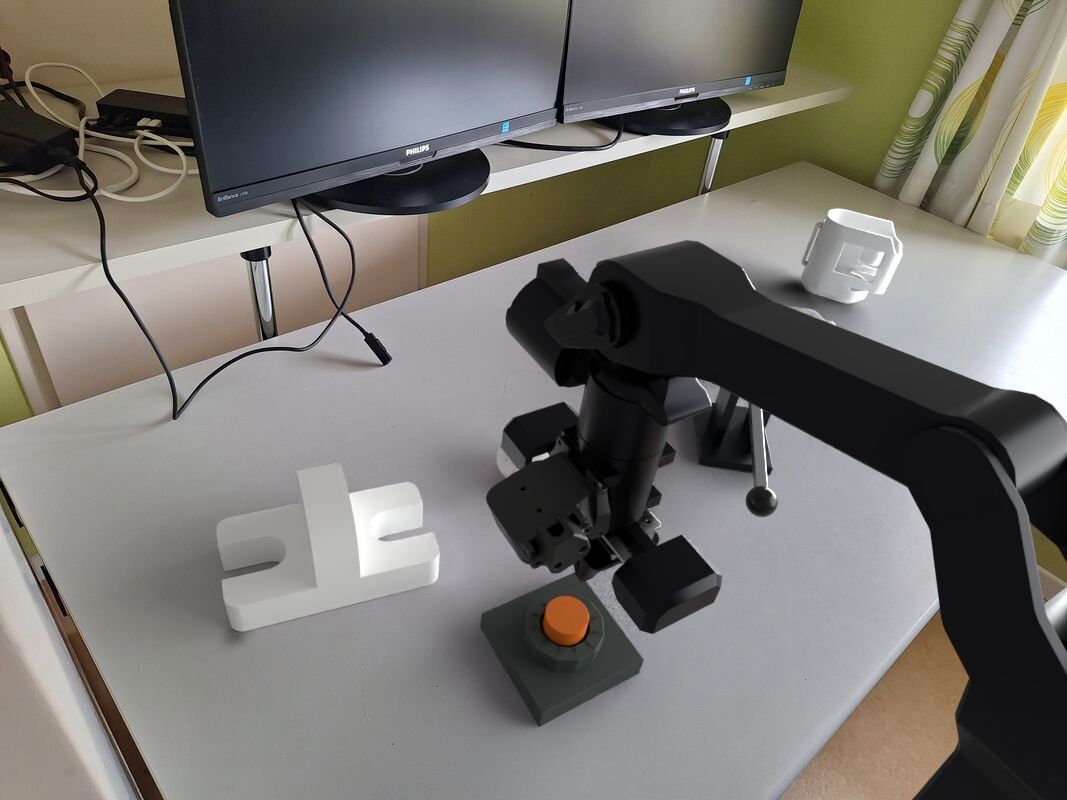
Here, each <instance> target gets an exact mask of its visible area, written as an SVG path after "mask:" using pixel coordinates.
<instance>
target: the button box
mask: <svg viewBox="0 0 1067 800" xmlns="http://www.w3.org/2000/svg"><path fill="white" fill-rule="evenodd" d="M560 596H570V597H573V598H576V599H578V600H579V601H581V602H582V603H583V604H584V605H585V607H586V608H587V610H588V613H589V622H588V625H587V629H586V632H585V635H584V637H583V639H582V640H581V641H580V642H578V643H577V644H574V645H571V646H562V645H558V644H556V643H554V642H552V641H551V640H550V639H549V638H548V637H547V636H546V634H545V632H544V629H543V620H544V615H545V610H546V607H547V605H548V604H549V602H550V601H552V600H553V599H555V598H557V597H560ZM479 628H480V630H481V632H482V634H483V635H484V637H485V638H486V640H487V642H488V643H489V646H490V647H491V648H492V651H493V652H494V653H495V656H496V657H497V659H498V660H499V662H500V664H501V666H502V668H504V671H505V673H506V674H507V675H508V677H509V679H510V680H511V682H512V684H513V685H514V687H515V689H516V691H517V693H518V694H519V696H520V697H521V699H522V700H523V702H524V705H525V706H526V708H527V709H528V711H529V712H530V714H531V716H532V717H533V719H534V721H535V722H536V724H537V726H538V727H542V726H543V725H546V724H547V723H550V722H551V721H553V720H555V719H557V718H559V717H560V716H562V715H564V714H566V713H567V712H570V711H572V710H574V709H575V708H577V707H579V706H581V705H582V704H585V703H586V702H588V701H590V700H592V699H593V698H596V697H597V696H599V695H601V694H603V693H605V692H607V691H609V690H611V689H612V688H614V687H616V686H618V685H619V684H621V683H623V682H625V681H627V680H629V679H631V678H632V677H634V676H636V675H638V674H639V673H640V671H641V669H642V666H643V663H644V661H645V658H644V657H643V656H642V654H641V653H640V652H639V650H638V649H637V648H636V646H635V645H634V643H632V641H631V640H630V638H629V637H628V635H627V634H626V633H625V631H624V630H623V629H622V627H621V626H620V625H619V623H618V622H617V621H616V619H615V618H614V616H613V615H612V614H611V612H610V611H609V610H608V608H607V607H606V606H605V605H604V603H603V602H602V601H601V599H600V597H599V596H598V595H597V594H596V592H595V591H594V590H593V588H592V587H591V586H590V584H589V583H588V580H587V581H585V582H583V583H581V582H580V580H579V578H577V576H576V575H575V571H574V572H572V573H570V574H567V575H565V576H563V577H561V578H558V579H556V580H554V581H552V582H549V583H547V584H545V585H543V586H540V587H538V588H535V589H533V590H531V591H529V592H527V593H525V594H523V595H520V596H518V597H515V598H512V599H511V600H509V601H506V602H504V603H502V604H499V605H498V606H495V607H493V608H491V609H488V610H487V611H484V612H482V613H481V618H480V625H479Z"/></svg>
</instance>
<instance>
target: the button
mask: <svg viewBox="0 0 1067 800" xmlns="http://www.w3.org/2000/svg"><path fill="white" fill-rule="evenodd" d="M588 622H589V613H588V610H587V608H586V607H585V605H584V604H583V603H582V602H581V601H579V600H578V599H576V598H573V597H570V596H560V597H557V598H555V599H553V600H552V601H550V602H549V604H548V605H547V607H546V610H545V615H544V620H543V629H544V632H545V634H546V636H547V637H548V638H549V639H550V640H551V641H552V642H554V643H556V644H558V645H562V646H571V645H574V644H577V643H578V642H580V641H581V640H582V639H583V637H584V635H585V632H586V629H587V625H588Z"/></svg>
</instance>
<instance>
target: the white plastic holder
mask: <svg viewBox="0 0 1067 800" xmlns="http://www.w3.org/2000/svg"><path fill="white" fill-rule="evenodd" d="M818 230H819V231H818ZM816 235H817V236H816ZM811 248H812V249H811ZM809 253H810V254H809ZM808 255H809V256H808ZM807 257H808V258H807ZM902 257H903V243H902V242H901V240H899V239H898V237H897V236H896V231H895V227H894V223H893V221H892V220H887V219H884V218H879V217H876V216H873V215H869V214H864V213H860V212H858V211H853V210H849V209H845V208H831V209H829V210H827V213H826V215H825V217H824V219H823V220H822V222H821V221H819V222H817V223H815V226H814V228H813V231H812V233H811V236H810V238H809V241H808V243H807V246H806V248H805V251H804V253H803V255H802V259H801V265H802V266H804V267H803V270H802V273H801V276H800V280H801V282H802V284H803V286H804V287H805V289H806V290H807V291H809V292H810V293H812V294H814V295H816V296H819V297H823V298H827V299H830V300H833V301H835V302H838V303H842V304H854V303H856V302H859V301H862V300H864V299H865V298H866V297H867V295H868V293H871V294H875V295H883V294H885V292H886V290H887V287H888V286H889V283H890V282H891V280H892V277H893V276H894V273H895V271H896V269H897V266H898V264H899V263H900V261H901V259H902ZM858 262H860V263H861V264H860V263H858ZM863 264H864V265H863ZM871 266H873V267H871ZM875 266H878V267H877V268H874V267H875ZM853 271H854V272H853ZM855 272H858V273H862V274H865V275H866V274H867V275H869V276H873V278H872V280H871V281H870V280H867V279H866V278H865V277H863V276H862V275H860V274H858V273H855Z"/></svg>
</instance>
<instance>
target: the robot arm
mask: <svg viewBox="0 0 1067 800" xmlns="http://www.w3.org/2000/svg"><path fill="white" fill-rule="evenodd" d="M790 307H791V306H787V305H785V304H782V303H779V302H777V301H775V300H772V299H770V298H769V297H767V296H766V295H764V294H763V293H761V292H760V291H757V290H756V288H755V287H754V285H753V283H752V281H751V280H750V278H749V276H748V274H747V273H746V271H745V269H744V268H742V266H740V265H739V264H737V263H735V261H732V260H731V259H729V258H728V257H725V256H724V255H722V254H721V253H720V252H717V251H716V250H714V249H712V248H711V247H709V246H708V245H707V244H705V243H702V242H700V241H697V240H689V239H685V240H682V241H677V242H676V241H675V242H673V243H668V244H664V245H661V246H655V247H652V248H647V249H644V250H640V251H636V252H635V251H634V252H631V253H627V254H622V255H619V256H615V257H609V258H606V259H601V260H599V261H597V262H596V265H595V267H594V268H593V269H592V271H591V273H590V276H589V278H588V281H587V280H585V279H584V278H583V277H582V276H581V275H580V274H579V273H578V271H577V270H576V269H575V268H574V266H573V265H572V264H571V263H570V262H568V260H566V259H565V258H564V257H561V258H557V259H552V260H548V261H544V262H540V263H538V264H537V268H536V275H535V278H533V279H532V280H530V281H529V282H528V283H527V284H525V285H524V286H523V287H522V288H521V289H520V290H519V291H518V293H517V294H516V296H515V297H514V298H513V300H512V302H511V304H510V306H509V307H508V308H507V309H506V313H505V326H506V329H507V332H508V333H509V334H510V336H511V337H512V339H514V340H515V341H516V343H518V345H520V346H521V348H522V349H523V350H524V351H525V352H526V353H527V354H528V355H529V356H530V357H531V358H532V359H533V360H534V361H535V363H536V364H537V365H538V366H539V367H540V368H541V369H542V370H543V371H544V373H546V374H547V376H548V377H549V378H550V379H551V380H552V381H553V382H554V383H555V384H556V385H557V386H558V387H560V388H561V387H562V388H568V389H569V388H577V387H580V386H584V388H583V392H582V397H581V403H580V408H579V412H577V411H576V410H575V409H574V408H573V406H571V405H570V404H568V403H567V402H565V401H561V402H557V403H554V404H550V405H547V406H544V407H541V408H538V409H535V410H531V411H529V412H526V413H522V414H519V415H516V416H513V417H512V418H511V419H510V420H509V421H508V422H507V423H506V424H505V426H504V427H503V429H502V436H501V443H502V444H501V443H500V445H501V448H502V449H503V450H504V452H505V453H506V454H507V456H508V457H509V458H510V460H511V461H512V462H513V464H514V465H515V466H516V468H517V469H518V471H517V472H515V473H514V474H512V475H510V476H509V477H507V478H504V479H502V480H501V481H499V482H498V483H496V484H494V485H492V486H491V487H490V488H489V490H488V491H487V493H486V496H485V501H486V505H487V507H488V509H489V511H490V513H491V515H492V518H493V520H494V522H495V524H496V526H497V528H498V530H499V531H500V533H501V534H502V535H503V536H504V538H505V539H506V541H507V543H508V544H509V545H510V547H511V548H512V549H513V551H514V553H515V554H516V556H517V558H518V559H519V560H520V561H521V563H523V564H525V565H528V566H530V568H531V569H532V570H537V569H538V568H540V567H546V568H547V569H548V571H549V573H551V574H553V575H555V574H556V575H557V574H560V573H562V572H564V571H565V570H567V569H568V568H570V567H571V566H573V571H574V572H575V575H576V576H577V578H579V580H580V582H581V583H583V582H585V581H587V582H588V581H590V580H592V579H593V578H595V577H596V576H598V574H599V573H600V572H604V571H607V570H609V569H611V568H614V567H616V566H618V565H620V564H621V565H620V566H619V567H618V568H617V569H616V571H614V572H613V576H612V579H611V582H610V583H611V586H612V587H611V588H612V590H613V594H614V596H615V600H616V601H617V603H618V604H619V605H620V606H621V608H622V609H623V611H624V612H625V613H626V614H627V615H628V617H629V618H630V619H631V621H632V622H633V623H634V625H635V626H636V627H637V629H638V630H639V631H640V632H642V633H647V634H651V635H654V634H656V633H657V632H660V631H662V630H664V629H666V628H668V627H670V626H672V625H674V624H675V623H677V622H679V621H681V620H683V619H685V618H687V617H689V616H691V615H692V614H695V613H697V612H698V611H701V610H702V609H705V608H707V607H709V606H710V605H713V604H714V603H715V602H716V600H717V598H718V595H719V592H720V590H721V589H722V583H723V581H722V580H723V574H722V573H721V572H720V571H719V570H718V569H717V568H716V567H715V566H714V565H713V563H712V562H711V561H710V560H709V559H708V558H707V556H705V554H704V553H703V552H702V551H701V549H699V548H698V546H697V545H696V544H695V543H694V542H693V541H692V540H691V538H689V537H688V536H686V535H684V534H679V535H676V536H675V537H673V538H670V539H669V540H666V541H664V542H662V543H660V541H661V537H660V534H659V533H658V532H657V531H660V529H661V527H662V523H661V521H660V520H659V519H658V518H657V516H655V514H653V512H652V511H651V510H650V509H652V508H654V507H657V506H659V505H660V503H661V500H662V497H663V493H662V492H660V490H659V489H658V488H657V487H656V486H655V485H654V481H655V478H656V475H657V472H658V469H660V468H663V467H665V466H668V465H670V464H673V463H674V462H675V458H676V455H677V450H676V449H675V448H674V447H673V446H672V445H671V444H670V443H669V442H668V441H667V440H668V436H669V433H670V431H671V427H672V425H674V424H677V423H680V422H682V421H684V420H687V419H689V418H693V417H694V416H695V415H698V414H700V413H703V412H705V411H708V410H710V408H711V402H712V401H711V398H710V396H709V393H708V391H707V389H705V387H704V386H703V385H701V383H700V381H699V380H701V381H703V382H708V383H711V384H713V385H716V386H717V387H718V388H720V387H721V388H723V389H725V390H727V391H728V392H730V393H732V394H734V395H736V396H738V397H739V399H741V400H743V401H745V402H747V403H748V402H749V403H751V404H753V405H754V406H756V407H758V408H760V409H762V410H764V411H766V412H768V413H769V414H771V416H773V417H775V418H777V419H778V420H781V421H782V422H785V423H786V424H788V425H790V426H792V427H794V428H796V429H798V430H799V431H801V432H802V433H804V434H806V435H809V436H810V437H813V438H814V439H816V440H817V441H820V442H822V443H824V444H825V445H827V446H829V447H831V448H833V449H835V450H837V451H838V452H840V453H842V454H844V455H846V456H848V457H850V458H851V459H853V460H855V461H857V462H858V463H861V464H863V465H865V466H867V467H868V468H870V469H872V470H874V471H876V472H877V473H879V474H881V475H884V476H885V477H887V478H889V479H890V480H893V481H894V482H897V483H898V484H900V485H902V486H904V487H905V488H907V489H908V492H909V493H910V495H911V497H912V500H913V501H914V503H915V505H916V506H917V509H918V511H919V513H920V514H921V517H922V519H923V520H924V522H925V524H926V526H927V528H928V530H929V533H930V542H931V550H932V558H933V566H934V573H935V582H936V583H935V584H936V589H937V598H938V605H939V613H940V614H939V615H940V620H941V623H942V626H943V629H944V632H945V634H946V636H947V638H948V640H949V641H950V643H951V645H952V647H953V649H954V652H955V653H956V655H957V657H958V659H959V661H960V663H961V665H962V667H963V669H964V671H965V672H966V675H967V677H968V680H967V682H966V685H965V686H964V687H965V688H964V690H963V692H962V695H961V697H960V700H959V702H958V704H957V707H956V709H955V712H954V719H955V725H956V732H957V738H958V741H957V744H956V746H955V747H954V750H953V751H952V753H950V754H949V756H948V757H947V758H946V759H945V760H944V762H943V763H942V764H941V765H940V766H939V768H938V769H937V770H936V771H935V772H934V773H933V774H932V776H931V777H930V778H929V779H928V780H927V781H926V782H925V784H924V785H923V786H922V787H921V788H920V790H919V791H918V792H917V793H916V794H915V795H914V796H913V798H912V799H911V800H1067V586H1066V587H1065V588H1063V589H1062V590H1061V591H1060V592H1058V593H1057V594H1056V595H1054V596H1053V597H1051V598H1050V599H1049V600H1048V601H1046V602H1045V600H1044V596H1043V590H1042V585H1041V578H1040V573H1039V568H1038V567H1039V566H1038V562H1037V557H1036V551H1035V545H1034V540H1033V534H1032V529H1031V525H1032V526H1033V527H1034V528H1036V529H1037V531H1039V532H1040V533H1041V534H1042V535H1043V536H1044V537H1045V538H1047V539H1048V540H1049V541H1050V542H1051V543H1053V545H1055V546H1056V548H1057V549H1058V550H1059V552H1060V553H1061V555H1062V557H1063V559H1064V561H1065V563H1067V420H1066V419H1065V418H1064V416H1063V415H1062V414H1061V413H1060V412H1059V411H1058V409H1057V408H1056V407H1055V406H1054V405H1053V404H1052V403H1051V402H1049V401H1047V400H1045V399H1043V398H1042V397H1040V396H1038V395H1037V394H1035V393H1030V392H1025V391H1021V390H1015V389H1008V388H1007V389H1006V388H1000V387H996V386H995V387H994V386H991V385H989V384H986V383H984V382H981V381H978V380H976V379H973V378H971V377H968V376H966V375H963V374H961V373H958V372H955V371H953V370H950V369H948V368H945V367H943V366H941V365H938V364H935V363H933V362H930V361H927V360H925V359H922V358H920V357H917V356H914V355H912V354H910V353H907V352H905V351H902V350H899V349H897V348H894V347H891V346H889V345H887V344H884V343H882V342H879V341H876V340H874V339H871V338H869V337H867V336H863V335H861V334H858V333H857V332H854V331H851V330H849V329H846V328H844V327H841V326H838V325H836V324H835V325H833V324H831V323H828V322H826V321H823V320H820V319H818V318H815V317H813V316H810V315H808V314H805V313H803V312H800V311H798V310H795V309H792V308H790ZM545 453H548V454H549V457H548V458H545V459H544V460H537V461H534V462H532V459H533V458H534V457H536V456H539V455H542V454H545ZM519 469H520V470H519Z"/></svg>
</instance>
